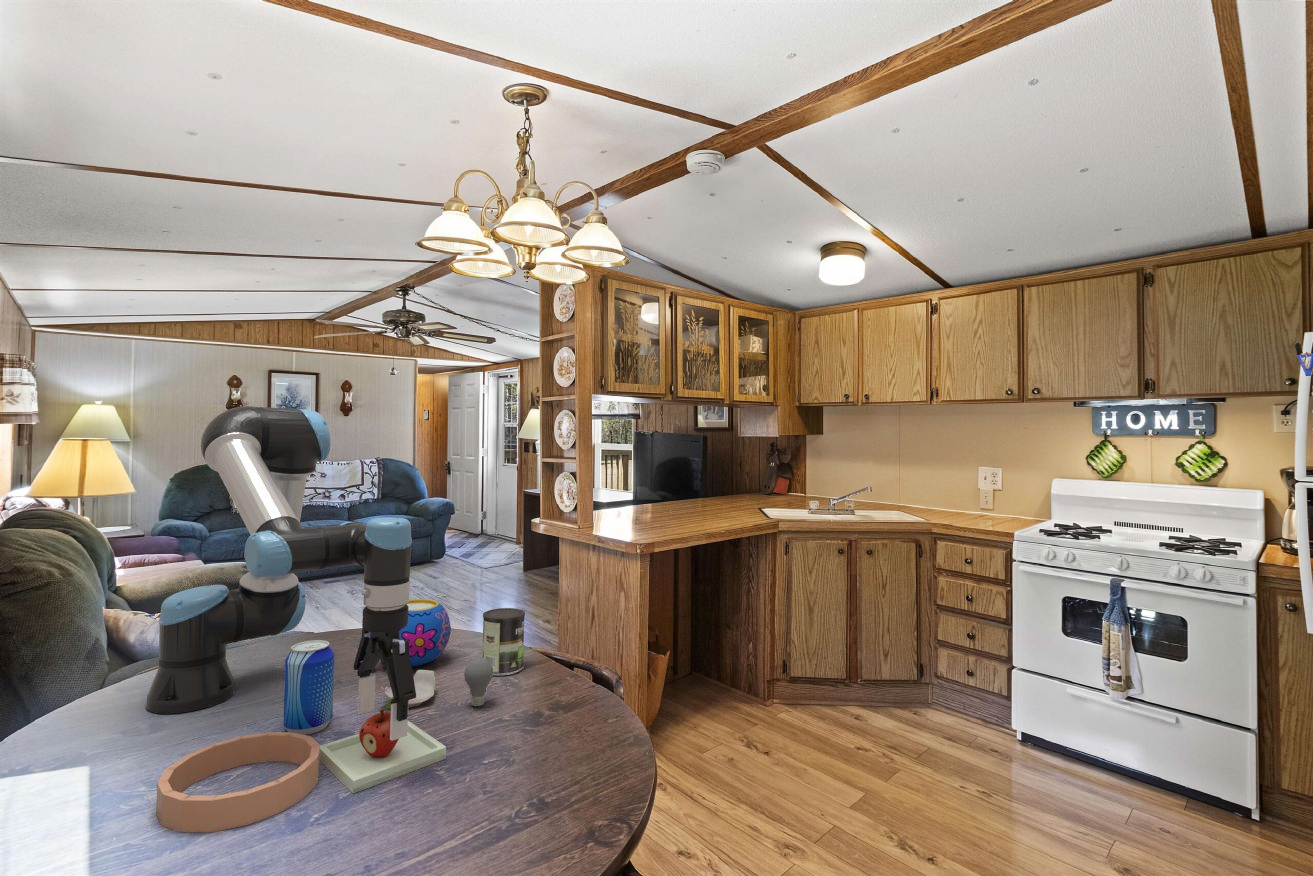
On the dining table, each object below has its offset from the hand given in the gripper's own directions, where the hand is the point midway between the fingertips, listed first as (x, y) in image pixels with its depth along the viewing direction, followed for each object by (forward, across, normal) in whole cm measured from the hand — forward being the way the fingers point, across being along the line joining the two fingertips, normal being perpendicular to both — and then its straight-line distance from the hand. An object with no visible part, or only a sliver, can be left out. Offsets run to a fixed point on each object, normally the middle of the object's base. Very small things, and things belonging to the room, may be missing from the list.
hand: (381, 724), depth 111 cm
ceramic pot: (+7, -41, +26) cm, 49 cm away
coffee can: (+6, -22, +40) cm, 46 cm away
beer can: (+6, -21, -5) cm, 23 cm away
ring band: (+6, -4, -20) cm, 21 cm away
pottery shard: (+6, -19, +15) cm, 25 cm away
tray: (+6, +1, 0) cm, 6 cm away
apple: (+5, +1, 0) cm, 5 cm away
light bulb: (+6, -7, +24) cm, 26 cm away
